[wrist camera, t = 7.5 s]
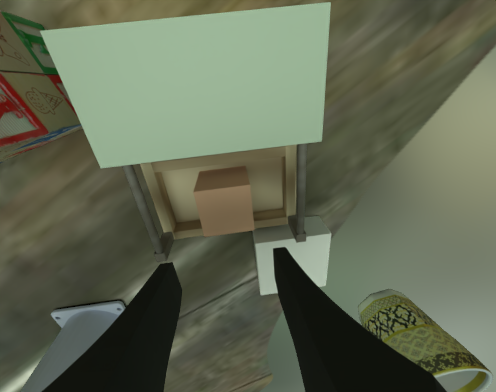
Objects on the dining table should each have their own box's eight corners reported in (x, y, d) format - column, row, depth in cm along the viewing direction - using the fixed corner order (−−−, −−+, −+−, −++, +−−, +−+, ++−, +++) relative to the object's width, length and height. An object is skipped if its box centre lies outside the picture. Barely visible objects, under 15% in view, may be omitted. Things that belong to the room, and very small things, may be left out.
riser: (315, 264, 26) (325, 285, 23) (257, 273, 25) (260, 295, 23) (318, 215, 22) (331, 233, 20) (251, 224, 22) (255, 243, 19)
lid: (314, 136, 14) (321, 141, 12) (110, 161, 13) (100, 168, 12) (320, 10, 11) (330, 2, 10) (58, 36, 10) (39, 30, 9)
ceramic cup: (378, 271, 27) (451, 362, 18) (429, 290, 30) (514, 376, 21) (319, 330, 32) (354, 424, 23) (368, 342, 35) (416, 429, 26)
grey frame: (294, 212, 22) (310, 241, 18) (166, 229, 21) (152, 263, 17) (296, 55, 16) (320, 46, 12) (113, 75, 15) (72, 72, 11)
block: (249, 205, 21) (254, 230, 17) (207, 210, 20) (204, 237, 17) (245, 165, 19) (249, 184, 15) (199, 171, 19) (193, 191, 15)
